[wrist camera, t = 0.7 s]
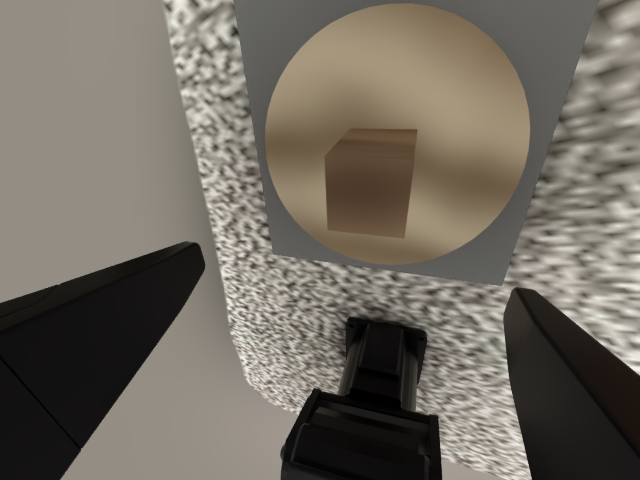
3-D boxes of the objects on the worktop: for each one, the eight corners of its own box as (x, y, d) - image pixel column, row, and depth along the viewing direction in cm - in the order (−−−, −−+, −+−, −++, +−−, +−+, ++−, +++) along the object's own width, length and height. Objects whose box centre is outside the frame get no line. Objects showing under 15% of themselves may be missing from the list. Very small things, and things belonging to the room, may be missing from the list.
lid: (488, 270, 20) (506, 343, 15) (283, 245, 23) (246, 296, 19) (572, -12, 12) (660, -44, 8) (253, 17, 16) (180, 8, 11)
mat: (500, 280, 20) (501, 286, 20) (276, 250, 25) (273, 254, 24) (607, -46, 12) (615, -49, 11) (238, -4, 16) (232, -5, 16)
